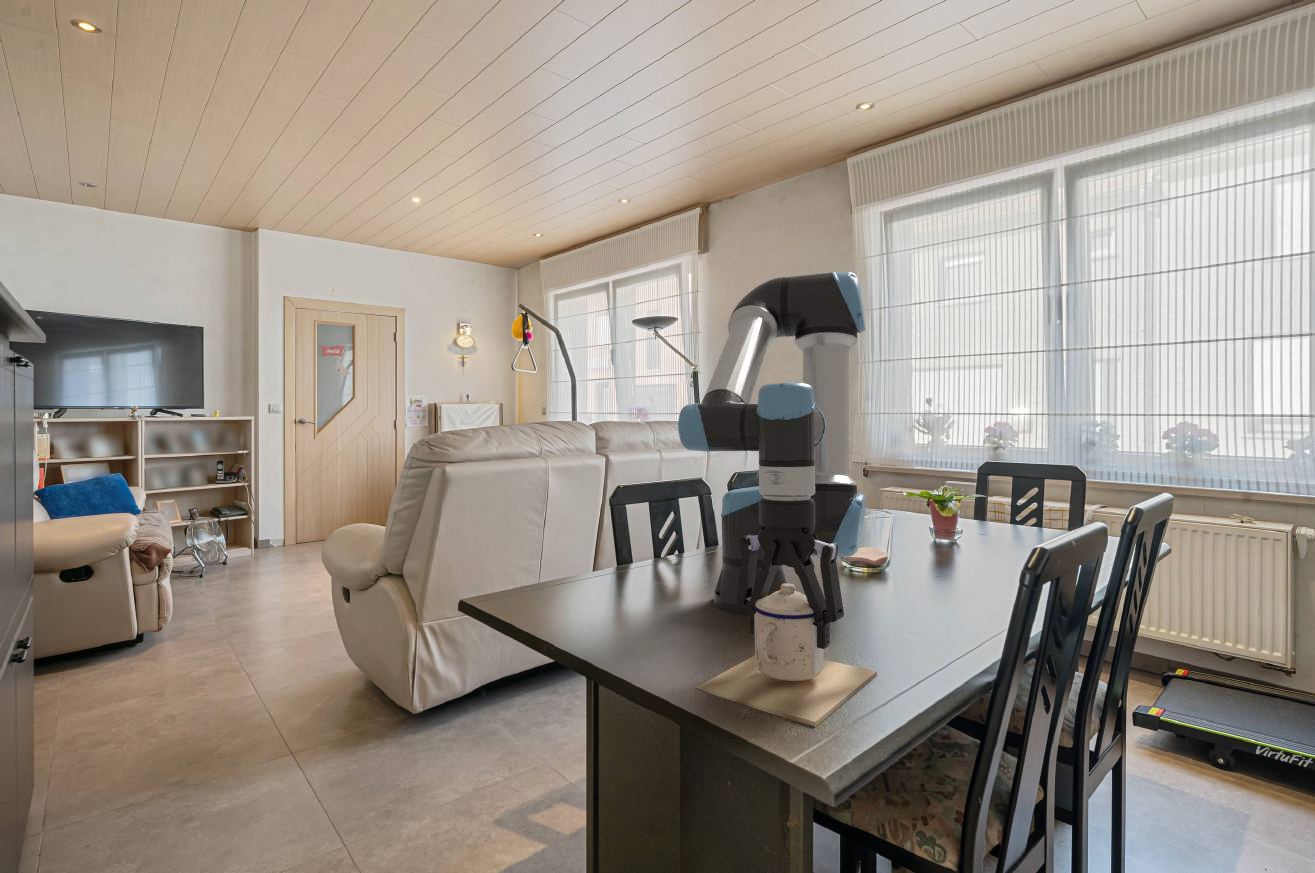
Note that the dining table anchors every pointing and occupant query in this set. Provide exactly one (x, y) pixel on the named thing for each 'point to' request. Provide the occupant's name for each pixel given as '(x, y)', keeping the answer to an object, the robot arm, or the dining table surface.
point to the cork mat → (790, 690)
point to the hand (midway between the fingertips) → (788, 664)
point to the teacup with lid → (785, 635)
